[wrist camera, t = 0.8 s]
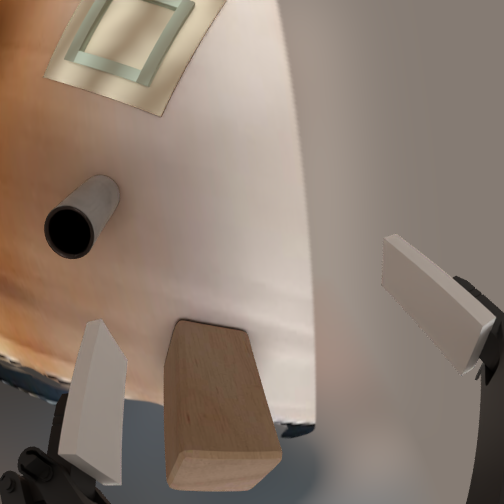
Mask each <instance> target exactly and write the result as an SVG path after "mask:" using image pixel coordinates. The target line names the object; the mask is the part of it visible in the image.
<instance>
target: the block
mask: <svg viewBox="0 0 504 504" xmlns="http://www.w3.org/2000/svg"><path fill="white" fill-rule="evenodd" d="M164 436H165V460H166V477H167V483H168V484H169V486H170V488H173V489H176V490H187V491H247V490H249V489H251V488H253V487H254V486H255V485H256V484H257V483H258V482H259V481H261V480H262V479H263V478H264V477H265V476H266V475H267V474H268V473H269V472H270V471H271V470H272V469H273V468H274V467H275V466H276V465H277V464H278V463H279V462H280V461H281V459H282V450H281V447H280V444H279V440H278V437H277V434H276V431H275V427H274V424H273V420H272V417H271V414H270V410H269V407H268V404H267V400H266V397H265V393H264V390H263V387H262V383H261V380H260V376H259V373H258V369H257V366H256V362H255V359H254V355H253V352H252V348H251V345H250V341H249V337H248V334H247V333H246V332H244V331H241V330H235V329H229V328H223V327H217V326H212V325H206V324H201V323H195V322H190V321H185V320H182V321H179V322H178V323H177V325H176V326H175V329H174V332H173V336H172V339H171V343H170V347H169V350H168V354H167V358H166V362H165V365H164Z"/></svg>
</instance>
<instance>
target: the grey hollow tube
mask: <svg viewBox="0 0 504 504" xmlns="http://www.w3.org/2000/svg"><path fill="white" fill-rule="evenodd" d="M119 199H120V192H119V189H118V186H117V185H116V183H115V182H114V181H113V180H112V179H111V178H109V177H107V176H104V175H96V176H93V177H91V178H89V179H88V180H86V181H85V182H84V183H83V184H82V185H80V186H79V187H78V188H77V189H76V190H74V191H73V192H72V193H71V194H70V195H69V196H67V197H66V198H65V199H64V200H63V201H62V202H61V203H59V204H58V205H57V206H56V207H55V208H54V209H53V210H52V211H51V212H50V213H49V214H48V216H47V218H46V221H45V225H44V232H45V237H46V240H47V242H48V244H49V246H50V247H51V248H52V250H53V251H54V252H56V253H57V254H58V255H60V256H62V257H64V258H68V259H77V258H81V257H83V256H85V255H86V254H87V253H88V252H89V251H90V250H91V248H92V247H93V245H94V243H95V242H96V240H97V238H98V236H99V235H100V233H101V231H102V230H103V228H104V227H105V225H106V223H107V222H108V220H109V219H110V217H111V215H112V214H113V212H114V211H115V209H116V207H117V205H118V203H119Z"/></svg>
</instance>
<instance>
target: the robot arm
mask: <svg viewBox="0 0 504 504" xmlns="http://www.w3.org/2000/svg"><path fill="white" fill-rule="evenodd" d="M382 266H383V267H382V284H381V285H382V286H383V287H384V289H385V290H386V291H387V292H388V293H389V294H390V295H391V296H392V297H393V298H394V299H395V300H396V301H397V303H398V304H399V305H400V306H401V307H402V308H403V309H404V310H405V311H406V312H407V314H409V316H410V317H411V318H412V319H413V320H414V321H415V322H416V324H417V325H418V326H419V327H420V328H421V329H422V330H423V331H424V333H425V334H426V335H427V336H428V337H429V338H430V340H431V341H432V342H433V343H434V344H435V345H436V347H437V348H438V349H439V350H440V351H441V352H442V354H443V355H444V356H445V357H446V358H447V359H448V361H449V362H450V363H451V364H452V366H453V367H454V368H455V369H456V370H457V372H458V373H459V374H460V375H461V376H462V375H464V374H465V373H467V372H468V371H470V370H471V369H473V368H474V367H475V365H476V363H477V361H478V359H479V358H480V359H481V360H482V361H483V363H482V365H481V367H480V369H479V371H478V373H477V375H476V378H475V380H477V379H478V378H479V376H480V374H481V403H480V420H479V430H478V440H477V448H476V456H475V462H474V468H473V474H472V479H471V485H470V489H469V493H468V498H467V502H466V504H504V313H503V312H502V311H501V310H500V309H499V308H498V307H496V305H494V304H493V303H492V302H491V301H490V300H489V299H488V298H487V297H485V296H484V295H482V294H481V292H480V291H478V290H477V289H475V287H474V286H473V285H471V284H470V283H469V282H468V281H467V280H464V279H462V278H460V277H457V276H455V277H453V278H452V277H450V276H449V275H448V274H447V273H446V272H444V271H443V270H442V269H441V268H439V267H438V266H437V265H436V264H435V263H433V262H432V261H431V260H429V259H428V258H427V257H426V256H424V255H423V254H422V253H421V252H419V251H418V250H417V249H416V248H414V247H413V246H412V245H411V244H409V243H408V242H406V241H405V240H404V239H402V238H401V237H400V236H399V235H397V234H394V235H391V236H387V237H384V238H383V264H382ZM127 361H128V360H127V358H126V357H125V355H124V354H123V352H122V351H121V349H120V348H119V346H118V345H117V343H116V341H115V340H114V338H113V337H112V335H111V333H110V332H109V330H108V329H107V327H106V325H105V324H104V322H103V320H102V319H98V320H94V321H90V322H87V325H86V329H85V332H84V335H83V339H82V342H81V346H80V349H79V353H78V357H77V361H76V365H75V369H74V373H73V377H72V381H71V385H70V390H69V393H67V394H62V396H61V397H60V399H59V401H58V403H57V404H56V409H55V413H54V416H55V417H54V419H53V423H52V424H53V426H52V428H51V434H50V440H49V445H48V451H47V454H45V453H44V452H43V451H41V450H40V449H39V448H36V447H28V448H27V449H25V450H24V451H23V452H22V453H21V455H20V457H19V459H18V470H19V472H20V473H21V474H23V475H24V476H20V475H18V474H17V473H16V472H13V471H7V472H5V473H4V474H3V475H2V477H1V478H0V495H1V500H2V504H111V503H110V502H109V501H108V500H107V499H106V497H105V496H104V495H103V494H102V493H101V491H100V490H98V488H96V487H95V483H96V480H97V481H98V482H100V483H101V484H103V485H121V451H122V425H123V406H124V393H125V382H126V371H127Z"/></svg>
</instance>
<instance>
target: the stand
mask: <svg viewBox="0 0 504 504" xmlns="http://www.w3.org/2000/svg"><path fill="white" fill-rule="evenodd" d="M225 2H226V0H81V2H80V4H79V5H78V7H77V9H76V11H75V12H74V14H73V16H72V18H71V19H70V21H69V23H68V25H67V27H66V29H65V31H64V33H63V35H62V37H61V39H60V41H59V43H58V45H57V47H56V49H55V51H54V53H53V55H52V58H51V60H50V62H49V64H48V67H47V69H46V71H45V74H44V76H43V77H44V78H48V79H52V80H55V81H58V82H62V83H65V84H68V85H72V86H75V87H78V88H81V89H84V90H87V91H91V92H94V93H97V94H100V95H102V96H105V97H108V98H111V99H114V100H117V101H120V102H122V103H125V104H128V105H131V106H133V107H136V108H139V109H141V110H144V111H147V112H149V113H152V114H155V115H157V116H160V117H161V116H162V114H163V112H164V110H165V108H166V106H167V103H168V101H169V99H170V97H171V95H172V93H173V91H174V89H175V87H176V85H177V84H178V82H179V80H180V78H181V76H182V74H183V72H184V70H185V68H186V67H187V65H188V63H189V61H190V59H191V57H192V56H193V54H194V52H195V50H196V49H197V47H198V45H199V44H200V42H201V40H202V38H203V37H204V35H205V33H206V32H207V30H208V29H209V27H210V25H211V24H212V22H213V20H214V19H215V17H216V16H217V14H218V13H219V11H220V10H221V8H222V7H223V5H224V4H225Z"/></svg>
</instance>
